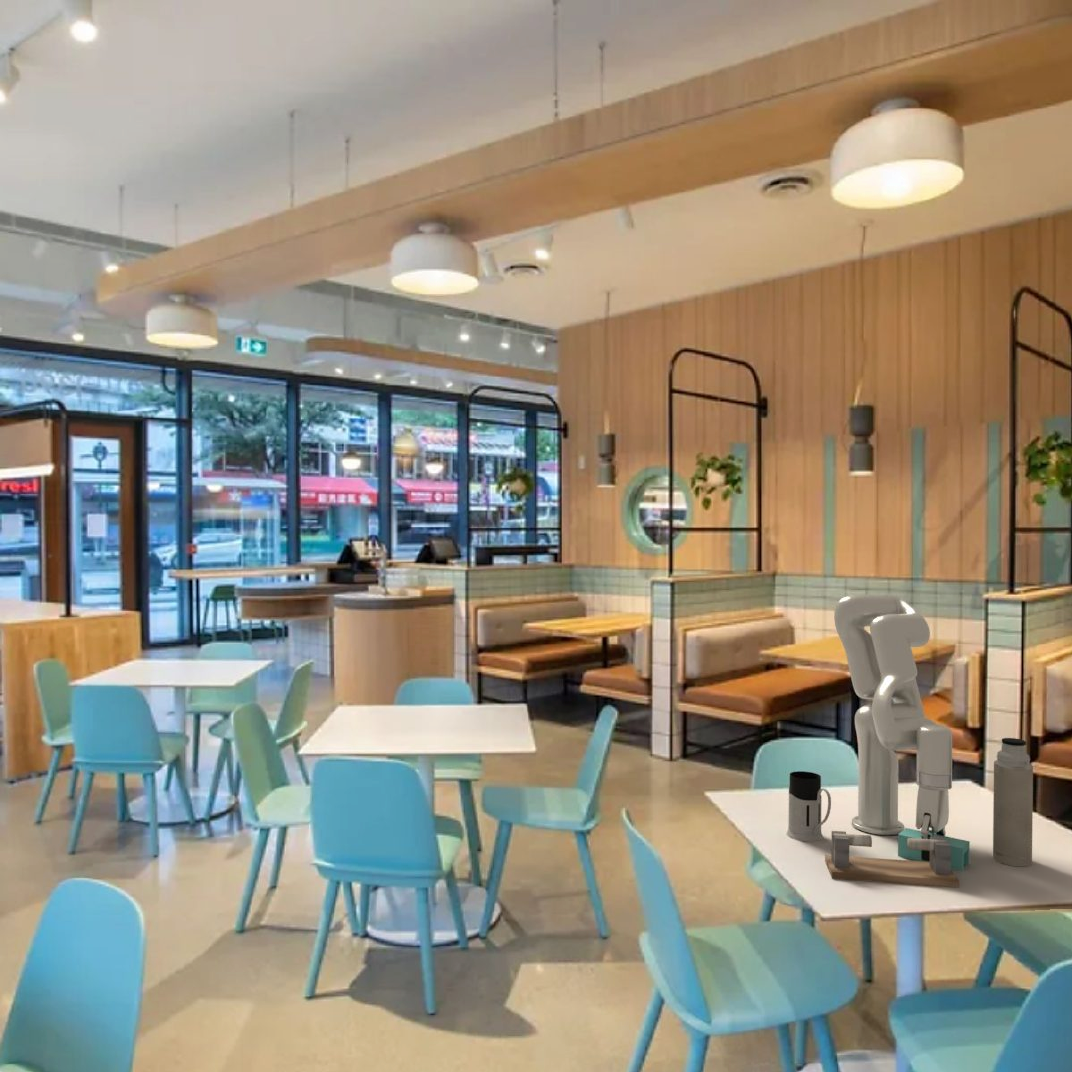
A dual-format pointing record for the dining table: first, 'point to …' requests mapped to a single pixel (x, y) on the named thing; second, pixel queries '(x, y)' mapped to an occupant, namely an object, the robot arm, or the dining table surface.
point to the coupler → (958, 846)
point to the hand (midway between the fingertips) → (933, 856)
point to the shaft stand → (891, 862)
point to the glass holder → (806, 806)
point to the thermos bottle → (1013, 804)
